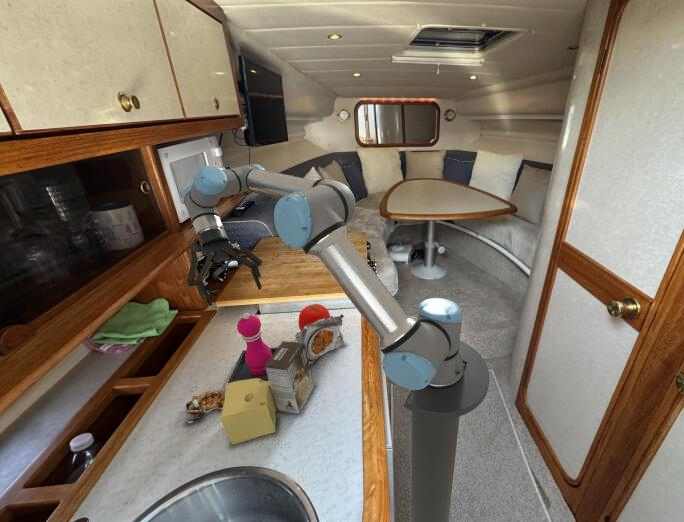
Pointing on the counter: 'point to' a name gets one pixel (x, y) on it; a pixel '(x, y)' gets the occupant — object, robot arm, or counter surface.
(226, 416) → the cheese
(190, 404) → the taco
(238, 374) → the spice tray
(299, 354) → the coffee box
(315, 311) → the tomato
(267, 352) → the pepper mill
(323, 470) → the counter surface
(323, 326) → the meal
